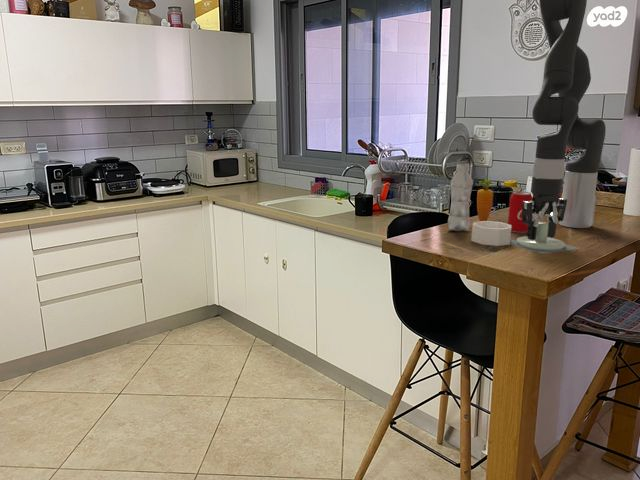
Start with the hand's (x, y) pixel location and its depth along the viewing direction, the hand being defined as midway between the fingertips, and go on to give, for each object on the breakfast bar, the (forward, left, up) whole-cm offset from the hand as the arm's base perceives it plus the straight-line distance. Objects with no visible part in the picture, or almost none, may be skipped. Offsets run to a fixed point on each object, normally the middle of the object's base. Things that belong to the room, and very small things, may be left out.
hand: (540, 238), depth 145 cm
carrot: (-5, -28, -3) cm, 29 cm away
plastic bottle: (+8, -24, -3) cm, 25 cm away
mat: (0, 0, -3) cm, 3 cm away
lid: (0, 0, -2) cm, 2 cm away
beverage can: (-8, -16, -3) cm, 18 cm away
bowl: (+9, -9, -3) cm, 13 cm away
